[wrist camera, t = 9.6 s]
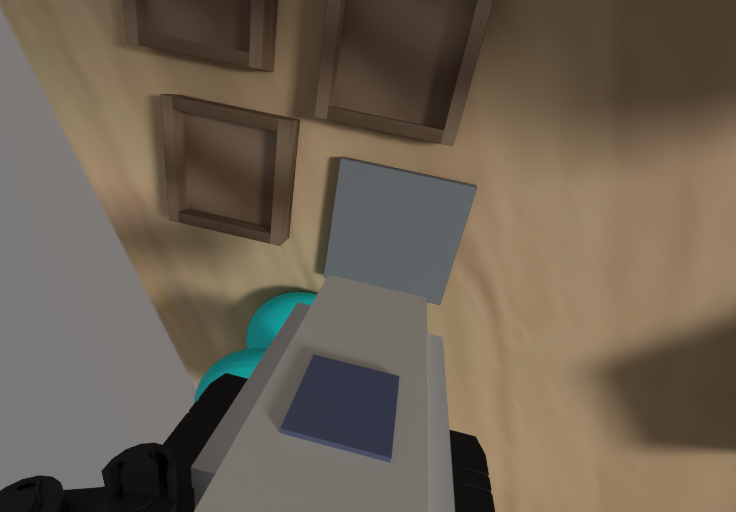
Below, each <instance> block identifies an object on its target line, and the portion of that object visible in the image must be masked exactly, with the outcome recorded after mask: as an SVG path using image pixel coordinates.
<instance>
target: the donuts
mask: <svg viewBox="0 0 736 512" xmlns="http://www.w3.org/2000/svg"><path fill="white" fill-rule="evenodd" d="M317 295H318V294H313V293H307V292H292V293H286V294H282V295H279V296H276V297H274V298H272V299H270V300H269V301H267V302H266V303H264V304H263V305H262V306H261V307H260V308H259V309H258V310H257V311H256V313H255V314H254V315H253V317H252V319H251V321H250V323H249V326H248V330H247V337H246V345H247V349H244V350H240V351H237V352H234V353H232V354H229V355H227V356H225V357H223V358H222V359H220V360H219V361H217V362H216V363H215V364H214V365H212V366H211V367H210V368H209V370H208V371H207V372H206V373H205V375H204V376H203V377H202V379H201V381H200V383H199V386H198V388H197V391H196V395H195V402H196V401H198V399H199V397H200V396H201V394H202V393H203V392H204V391H205V389H206V388H207V387H208V385H209V384H210V383H211V382H213V381H214V380H216V379H217V378H219V377H220V376H222V375H223V374H225V373H229V374H232V375H236V376H240V377H244V378H249V377H250V375H251V374H252V372H253V370H254V369H255V367H256V366H257V364H258V363H259V361H260V360H261V358H262V357H263V355H264V353H265V352H266V350H267V349H268V347H269V346H270V344H271V343H272V341H273V340H274V338H275V336H276V335H277V333H278V332H279V330H280V329H281V327H282V326H283V324H284V323H285V321H286V319H287V318H288V316H289V315H290V313H291V312H292V310H293V309H294V307H295V306H296V304H297V302H299V303H303V304H307V305H312V303H313V302H314V300H315V298H316V296H317Z"/></svg>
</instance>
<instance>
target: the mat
mask: <svg viewBox="0 0 736 512" xmlns="http://www.w3.org/2000/svg"><path fill="white" fill-rule="evenodd" d="M476 190H477V186H476V185H473V184H468V183H464V182H459V181H454V180H450V179H445V178H440V177H436V176H431V175H426V174H422V173H417V172H412V171H408V170H403V169H398V168H394V167H389V166H384V165H380V164H375V163H370V162H366V161H361V160H356V159H352V158H347V157H342V158H341V160H340V167H339V174H338V181H337V188H336V195H335V202H334V209H333V216H332V223H331V229H330V236H329V243H328V250H327V257H326V264H325V271H324V278H327V277H328V275H332V276H337V277H341V278H345V279H349V280H354V281H358V282H362V283H366V284H371V285H375V286H379V287H383V288H387V289H392V290H396V291H400V292H404V293H409V294H413V295H417V296H421V297H426V298H427V302H429V303H433V304H437V305H440V303H441V300H442V297H443V294H444V291H445V287H446V284H447V281H448V278H449V275H450V272H451V269H452V265H453V262H454V259H455V256H456V253H457V250H458V247H459V243H460V240H461V237H462V234H463V231H464V228H465V225H466V221H467V218H468V215H469V212H470V209H471V206H472V203H473V199H474V196H475V193H476Z"/></svg>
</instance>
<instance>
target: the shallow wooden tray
mask: <svg viewBox="0 0 736 512" xmlns="http://www.w3.org/2000/svg"><path fill="white" fill-rule="evenodd" d="M277 1H278V0H123V4H124V14H125V25H126V35H127V43H131V44H136V45H141V46H146V47H151V48H156V49H161V50H166V51H171V52H176V53H181V54H186V55H191V56H196V57H201V58H206V59H211V60H216V61H221V62H226V63H231V64H236V65H241V66H246V67H251V68H256V69H261V70H266V71H271V72H273V70H274V52H275V35H276V18H277Z"/></svg>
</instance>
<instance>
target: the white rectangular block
mask: <svg viewBox="0 0 736 512" xmlns="http://www.w3.org/2000/svg"><path fill="white" fill-rule="evenodd" d="M194 512H428V399H427V298H426V297H421V296H417V295H413V294H409V293H404V292H400V291H396V290H392V289H387V288H383V287H379V286H375V285H371V284H366V283H362V282H358V281H354V280H349V279H345V278H341V277H337V276H332V275H328V277H327V279H326V280H325V282H324V284H323V286H322V288H321V289H320V291H319V293H318V295H317V296H316V298H315V300H314V302H313V303H312V305H311V307H310V309H309V310H308V312H307V314H306V316H305V317H304V319H303V321H302V323H301V324H300V326H299V328H298V330H297V331H296V333H295V335H294V337H293V338H292V340H291V342H290V344H289V345H288V347H287V349H286V351H285V352H284V354H283V356H282V358H281V360H280V361H279V363H278V365H277V367H276V368H275V370H274V372H273V374H272V375H271V377H270V379H269V381H268V382H267V384H266V386H265V388H264V389H263V391H262V393H261V395H260V396H259V398H258V400H257V402H256V403H255V405H254V407H253V409H252V410H251V412H250V414H249V416H248V417H247V419H246V421H245V423H244V424H243V426H242V428H241V430H240V432H239V433H238V435H237V437H236V439H235V440H234V442H233V444H232V446H231V447H230V449H229V451H228V453H227V454H226V456H225V458H224V460H223V461H222V463H221V465H220V467H219V468H218V470H217V472H216V474H215V475H214V477H213V479H212V481H211V482H210V484H209V486H208V488H207V489H206V491H205V493H204V495H203V497H202V498H201V500H200V502H199V504H198V505H197V507H196V509H195V511H194Z"/></svg>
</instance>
